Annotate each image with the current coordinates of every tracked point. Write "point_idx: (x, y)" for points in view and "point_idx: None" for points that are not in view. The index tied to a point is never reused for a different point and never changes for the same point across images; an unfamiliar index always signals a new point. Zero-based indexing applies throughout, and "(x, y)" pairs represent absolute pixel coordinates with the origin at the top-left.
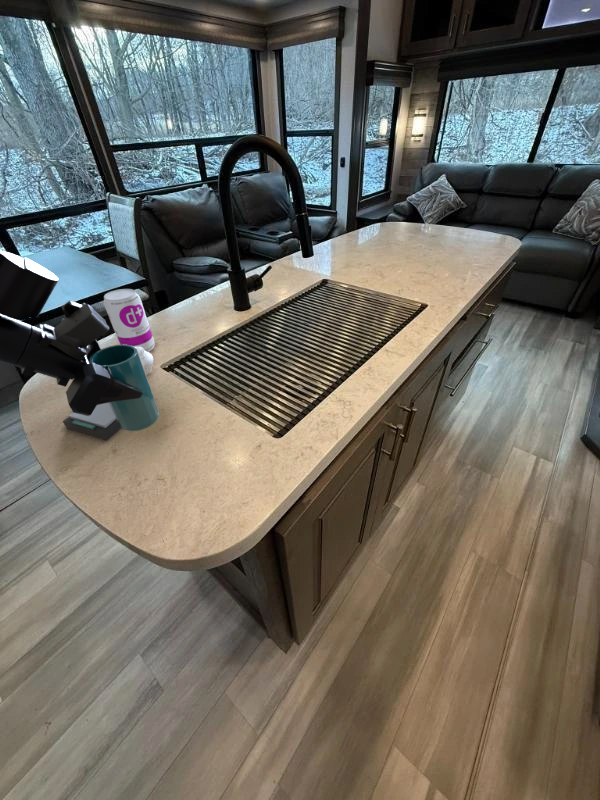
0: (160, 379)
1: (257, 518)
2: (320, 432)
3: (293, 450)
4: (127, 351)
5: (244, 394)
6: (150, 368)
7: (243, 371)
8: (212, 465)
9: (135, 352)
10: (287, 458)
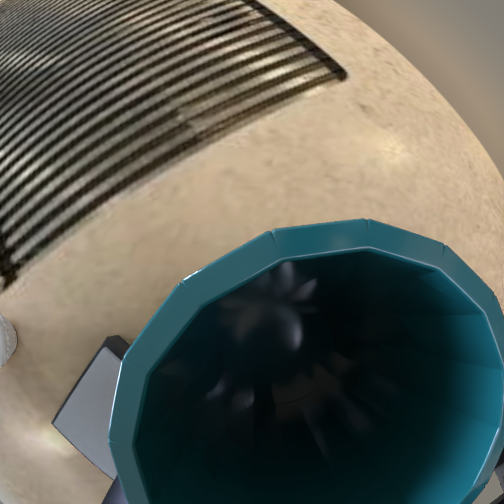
0: (36, 300)
1: (487, 158)
2: (344, 28)
3: (380, 69)
4: (177, 354)
5: (181, 101)
6: (3, 317)
7: (95, 101)
8: (398, 196)
9: (370, 235)
10: (396, 82)
